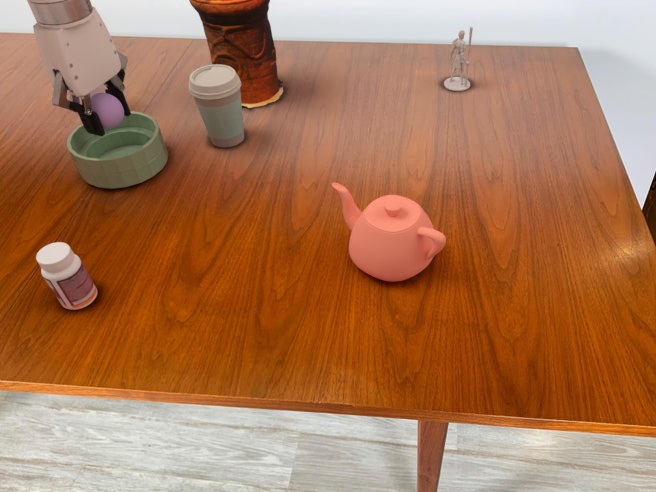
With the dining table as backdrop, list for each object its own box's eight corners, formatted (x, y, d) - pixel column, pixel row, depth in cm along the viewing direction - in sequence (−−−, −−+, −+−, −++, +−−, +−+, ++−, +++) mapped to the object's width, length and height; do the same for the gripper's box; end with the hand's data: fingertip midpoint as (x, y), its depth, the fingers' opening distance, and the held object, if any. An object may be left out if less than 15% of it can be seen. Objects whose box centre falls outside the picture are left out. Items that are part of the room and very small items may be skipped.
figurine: (475, 84, 116) (482, 24, 107) (457, 94, 113) (463, 32, 104) (456, 75, 118) (461, 15, 109) (438, 84, 116) (442, 23, 107)
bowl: (74, 195, 93) (58, 164, 88) (89, 145, 102) (75, 115, 98) (165, 186, 94) (154, 154, 90) (171, 137, 104) (162, 107, 99)
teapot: (419, 305, 77) (422, 254, 70) (312, 253, 83) (305, 202, 76) (463, 252, 83) (469, 200, 76) (360, 208, 90) (358, 156, 83)
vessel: (198, 103, 112) (169, -5, 97) (233, 69, 121) (212, -35, 106) (266, 115, 109) (246, 5, 94) (297, 79, 118) (284, -27, 103)
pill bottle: (103, 284, 80) (79, 239, 74) (90, 311, 76) (63, 266, 70) (69, 284, 80) (42, 239, 74) (54, 310, 77) (25, 265, 70)
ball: (90, 138, 91) (76, 106, 87) (96, 119, 95) (82, 88, 90) (126, 134, 91) (114, 102, 87) (131, 115, 95) (119, 84, 91)
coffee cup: (238, 120, 108) (224, 57, 99) (260, 141, 103) (248, 77, 94) (195, 135, 104) (177, 72, 95) (216, 158, 100) (199, 93, 91)
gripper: (83, -20, 85) (125, 93, 99) (-9, 28, 75) (52, 147, 88) (125, -13, 84) (162, 101, 97) (35, 37, 73) (91, 158, 86)
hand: (109, 122), depth 92 cm, fingers closed on ball, 5 cm apart
